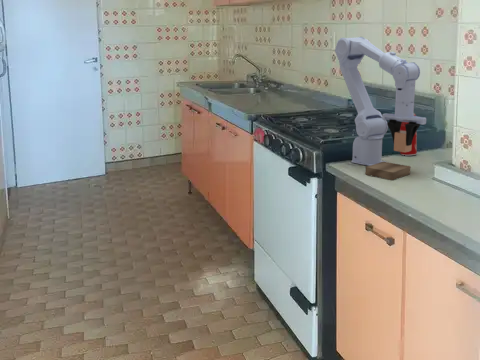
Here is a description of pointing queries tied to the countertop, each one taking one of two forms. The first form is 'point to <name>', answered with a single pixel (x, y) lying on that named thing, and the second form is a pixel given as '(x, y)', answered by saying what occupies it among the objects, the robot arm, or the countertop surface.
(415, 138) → the beverage can
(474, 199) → the countertop surface
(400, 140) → the terracotta block
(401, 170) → the walnut base
